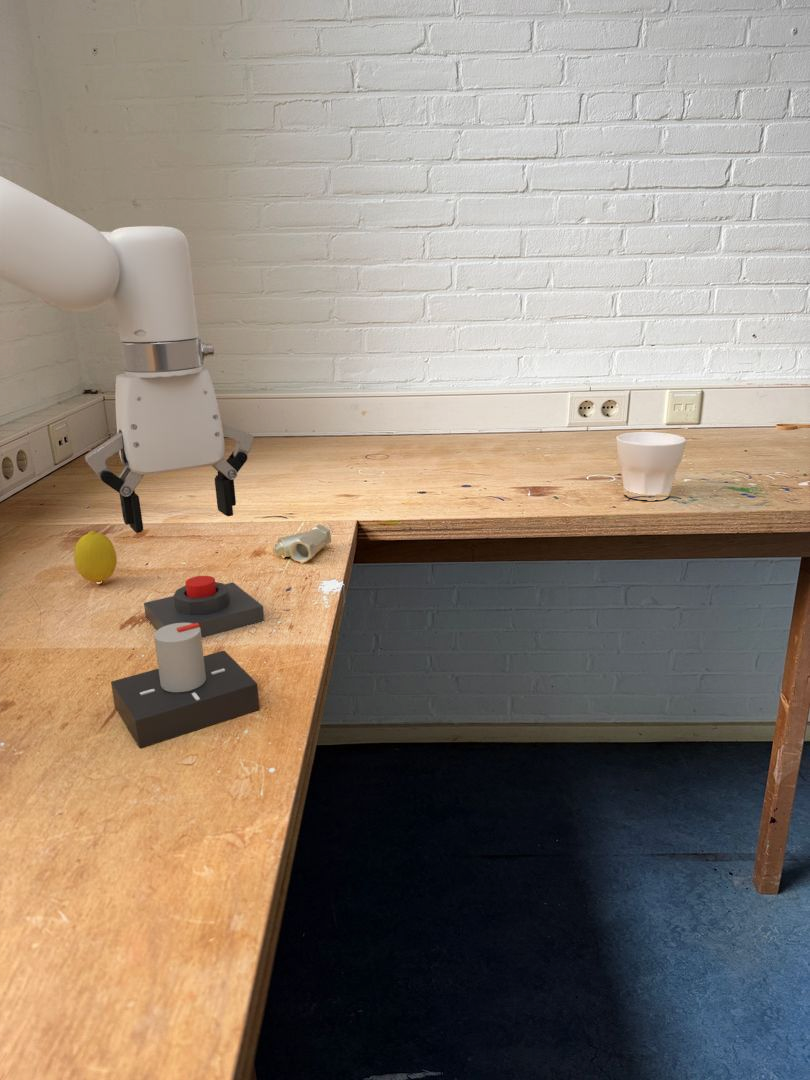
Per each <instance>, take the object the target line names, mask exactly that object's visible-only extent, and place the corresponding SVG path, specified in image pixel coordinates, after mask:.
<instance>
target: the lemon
mask: <svg viewBox="0 0 810 1080" xmlns="http://www.w3.org/2000/svg"><path fill="white" fill-rule="evenodd" d="M117 557H118V556H117V552H116V549H115V547H114V544H113V543H112V541H111V539H110V538H109V537H107V536H106V535H105V534H102V533H100V532H96V531H95V530H89V531H88V533H86V534H84V535H82V536H81V537H80V538H79V539H78V540H77V542H76V544H75V547H74V554H73V558H74V559H73V560H74V565H75V568H76V570H77V572H78V573H79V575H80V576H81V578H83V579H85V580H86V581H89V582H93V583H95V582H101V581H104V582H105V580H108V579H109V578H110V577H112V575H113V574H114V573H115V570H116V567H117V562H118V561H117V560H118V558H117Z"/></svg>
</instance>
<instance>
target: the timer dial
mask: <svg viewBox="0 0 810 1080" xmlns="http://www.w3.org/2000/svg"><path fill="white" fill-rule="evenodd" d="M153 638H154V639H153V640H154V646H155V654H156V661H157V669H159V677H160V684H161V687H162V688H163V689H164V690H166V691H168V692H176V693H177V692H186V691H191V690H194V689H196V688H198V687H200V686H201V685H203V684H204V682H205V681H206V673H205V664H204V656H205V655H204V648H203V647H204V646H203V638H201V629H200V626H199V624H198V623H194V624H193V623H175V624H170V625H167V626H164V627H162V628H160V629H158V630H156V631H155V632H154V634H153Z"/></svg>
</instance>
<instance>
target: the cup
mask: <svg viewBox="0 0 810 1080" xmlns="http://www.w3.org/2000/svg"><path fill="white" fill-rule="evenodd" d="M615 438H616V449H617V460H618V461H619V463H620V469H621V477H622V485H623V489H624V488H625V489H626V490H627V491H629V492H633V493H638V494H644V495H645V494H646V495H650V494H651V495H656V494H664V493H667V492H669V491H671V490H672V487H673V484H674V480H675V476H676V474H677V469H678V468H679V466H680V465H681V463H682V460H683V456H684V452H685V447H686V443H687V440H686V439H685V437H684V436H681V435H678V434H674V433H667V432H657V431H633V432H625V433H620V434H619V435H617V436H615ZM671 492H672V491H671Z"/></svg>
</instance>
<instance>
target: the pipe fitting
mask: <svg viewBox="0 0 810 1080" xmlns="http://www.w3.org/2000/svg"><path fill="white" fill-rule="evenodd" d="M331 543H332V533H331V530H330V529H328V527H325V526H324V525H323V524H317V525H316V526H314V527H313V528H311V529H310V530H307V531H304V532H300V533H294V534H291V535H287V536H282V537H278V539H277V543H275V544H274V546H273V547H272V551H273V553H274V554H276V555H277V556H278V555H279V556H281V555H283V556H284V557H290V556H291V557H290V559H292V560H293V561H294V562H296V561H301V562H305V563H306V562H308V561H309V560H311V559H312V558H314V557H315V556H316V554H317V553H318V552H319V551H321V550H322V549H324V548H326V547H328V546H329V545H330V544H331Z"/></svg>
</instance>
